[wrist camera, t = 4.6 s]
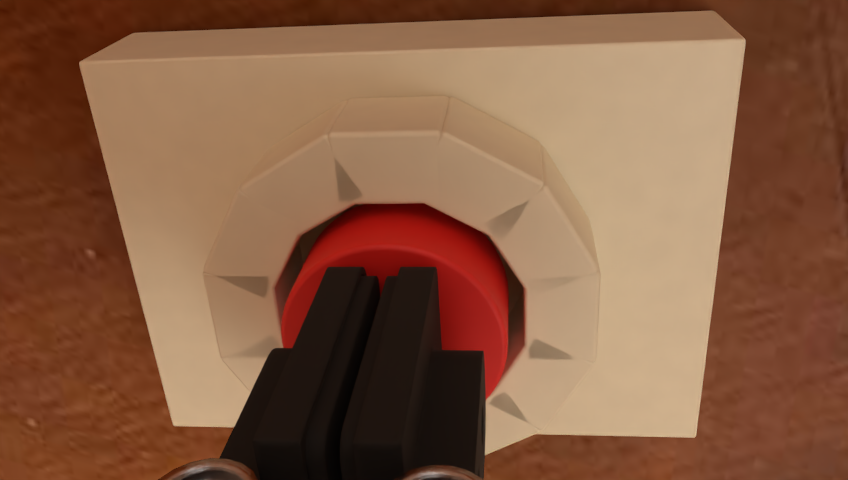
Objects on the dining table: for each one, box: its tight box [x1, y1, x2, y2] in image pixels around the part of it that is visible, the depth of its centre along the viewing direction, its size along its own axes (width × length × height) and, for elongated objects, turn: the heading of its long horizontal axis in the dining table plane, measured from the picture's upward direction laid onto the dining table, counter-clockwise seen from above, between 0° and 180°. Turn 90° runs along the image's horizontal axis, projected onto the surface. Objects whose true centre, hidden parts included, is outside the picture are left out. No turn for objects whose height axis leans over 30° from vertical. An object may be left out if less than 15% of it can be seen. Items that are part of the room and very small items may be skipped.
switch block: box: [79, 11, 746, 455], centre depth 15 cm, size 11×8×4 cm
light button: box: [281, 203, 509, 399], centre depth 13 cm, size 4×4×2 cm
